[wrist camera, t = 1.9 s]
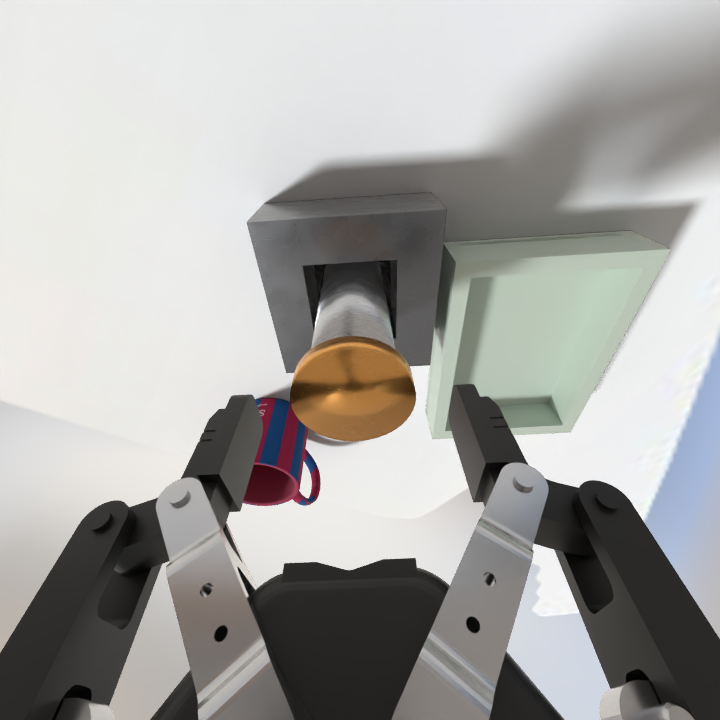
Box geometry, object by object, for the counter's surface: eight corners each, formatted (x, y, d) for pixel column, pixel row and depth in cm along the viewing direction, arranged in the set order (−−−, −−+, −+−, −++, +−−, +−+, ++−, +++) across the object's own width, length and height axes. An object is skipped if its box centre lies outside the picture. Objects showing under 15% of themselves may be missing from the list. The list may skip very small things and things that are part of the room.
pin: (311, 242, 21) (277, 356, 11) (389, 237, 21) (419, 347, 11) (321, 310, 24) (301, 443, 14) (389, 306, 24) (413, 438, 14)
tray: (442, 242, 21) (455, 262, 18) (630, 230, 21) (671, 249, 18) (425, 410, 31) (432, 439, 28) (551, 403, 30) (570, 432, 28)
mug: (277, 387, 29) (260, 451, 23) (340, 444, 34) (338, 507, 29) (224, 414, 31) (197, 479, 25) (291, 464, 36) (280, 527, 31)
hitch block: (263, 203, 19) (246, 222, 16) (431, 192, 19) (446, 209, 16) (294, 340, 25) (286, 372, 22) (420, 332, 25) (430, 365, 22)
